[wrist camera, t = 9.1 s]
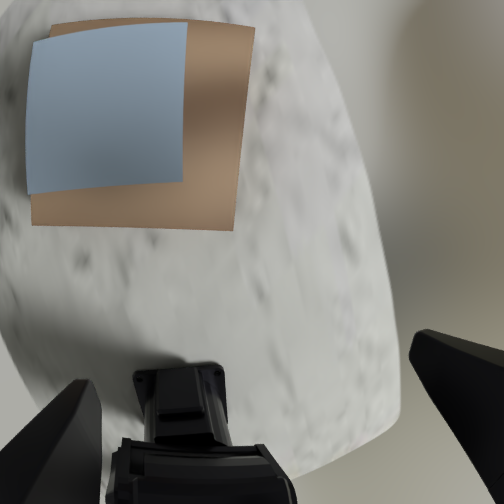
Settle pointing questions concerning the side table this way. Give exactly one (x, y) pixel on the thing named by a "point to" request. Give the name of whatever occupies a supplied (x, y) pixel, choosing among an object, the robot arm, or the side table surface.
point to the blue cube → (106, 108)
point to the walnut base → (194, 142)
